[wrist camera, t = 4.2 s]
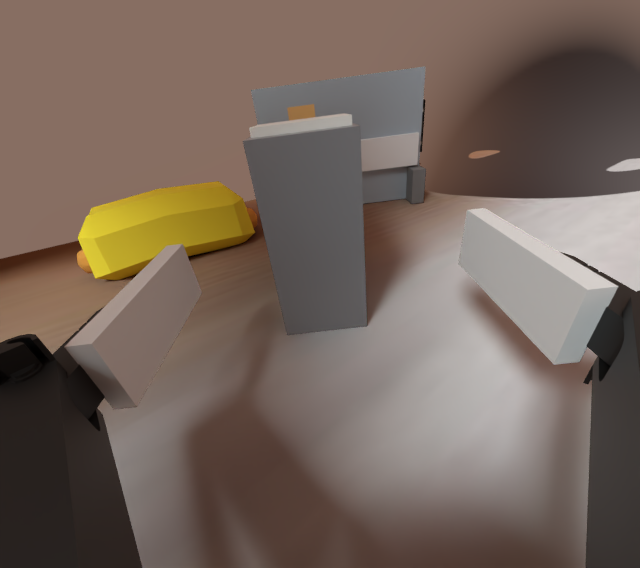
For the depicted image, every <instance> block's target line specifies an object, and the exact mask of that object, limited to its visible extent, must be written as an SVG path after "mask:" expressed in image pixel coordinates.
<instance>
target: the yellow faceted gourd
mask: <svg viewBox="0 0 640 568" xmlns="http://www.w3.org/2000/svg"><path fill="white" fill-rule="evenodd" d="M256 226H257V215H256V214H255V212H254V211H253V210H252V209H251V208H246V206H245V203H244V201H243V198H241V197H240V196H239V195H237V194H236V193H234V192H233V191H232V190H230V189H229V188H227V187H226V186H224V185H223V184H221V183H220V182H219V181H217V182H208V183H201V184H193V185H186V186H177V187H170V188H162V189H156V190H153V191H149V192H145V193H142V194H138V195H135V196H132V197H128V198H125V199H121V200H118V201H114V202H111V203H107V204H104V205H100V206H97V207H93V208H92V209H91V211H90V213H89V216H87V217H86V219H85V222H84V224H83V226H82V229H81V231H80V233H79V236H78V240H79V242H80V245H81V247H82V250H81V251H79V252H78V253H77V263H78V265H79V266H80V267H81V268H82V269H83V270H84V271H85V272H87V273H93V274H94V276H95V278H96V279H107V280H120V279H123V278H126V277H129V276H133V275H136V274H138V273H140V272H141V271H142V270H143V269H144V268H145V267H146V266H147V265H148V264H149V263H150V262H151V261H152V260H153V259H154V258H155V257H156V256H157V255H158V254H159V253H160V252H161V251H162V250H163V249H164V248H165V247H166V246H168V245H177V244H183V246H184V248H185V251H186V253H187V256H192V255H196V254H201V253H205V252H210V251H214V250H219V249H222V248H226V247H230V246H234V245H237V244H241V243H244V242H245V241H246V240H248V239H249V238H250V237H251V236H252V235H253V234H254V233H255V231H254V228H255V227H256Z"/></svg>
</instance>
